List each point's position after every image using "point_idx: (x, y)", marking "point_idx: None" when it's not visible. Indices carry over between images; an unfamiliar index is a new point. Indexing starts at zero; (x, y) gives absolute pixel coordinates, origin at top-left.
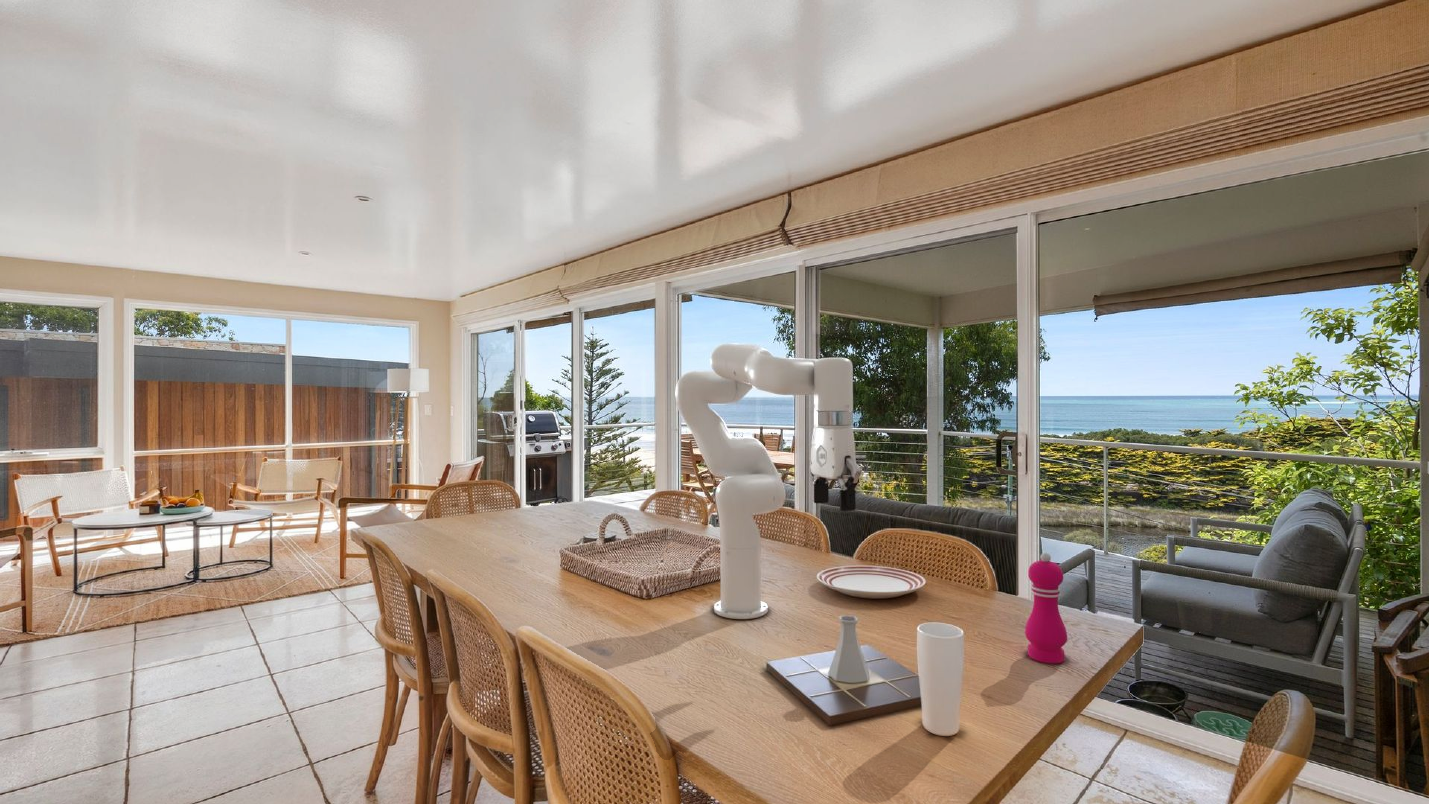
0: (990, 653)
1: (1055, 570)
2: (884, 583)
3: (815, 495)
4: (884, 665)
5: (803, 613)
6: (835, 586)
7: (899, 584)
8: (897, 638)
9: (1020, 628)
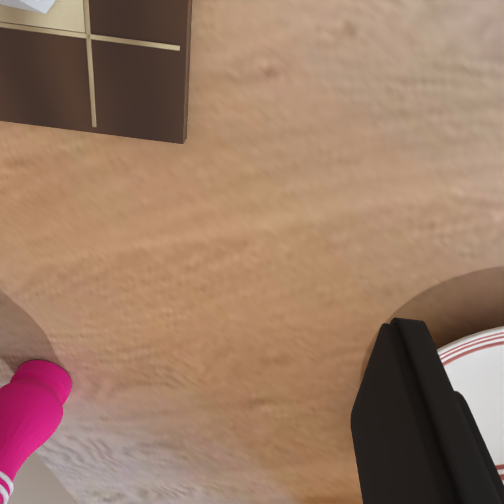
0: (88, 329)
1: None
2: (483, 434)
3: (415, 378)
4: (54, 88)
5: (495, 174)
6: None
7: None
8: (224, 250)
9: (163, 437)
